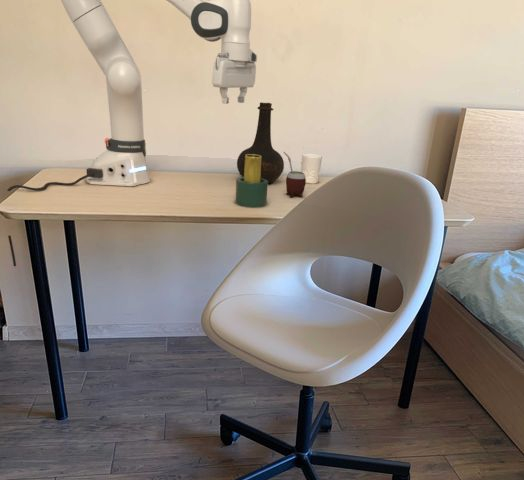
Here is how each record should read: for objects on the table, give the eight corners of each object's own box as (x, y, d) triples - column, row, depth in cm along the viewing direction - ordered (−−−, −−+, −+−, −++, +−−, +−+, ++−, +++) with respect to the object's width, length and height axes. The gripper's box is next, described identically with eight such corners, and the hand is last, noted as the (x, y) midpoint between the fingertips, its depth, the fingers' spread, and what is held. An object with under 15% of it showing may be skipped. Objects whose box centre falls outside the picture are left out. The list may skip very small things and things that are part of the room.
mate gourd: (307, 195, 184) (311, 151, 176) (298, 199, 178) (303, 154, 170) (288, 192, 187) (292, 148, 179) (279, 196, 180) (283, 151, 173)
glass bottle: (227, 179, 199) (229, 99, 185) (261, 175, 210) (266, 99, 195) (257, 189, 188) (262, 105, 174) (291, 184, 198) (299, 105, 184)
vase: (244, 203, 166) (246, 157, 159) (239, 198, 171) (241, 153, 164) (262, 203, 167) (265, 157, 160) (257, 198, 173) (260, 154, 165)
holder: (239, 207, 164) (240, 183, 160) (232, 199, 172) (233, 176, 169) (269, 207, 167) (271, 184, 163) (261, 199, 175) (263, 176, 171)
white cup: (322, 183, 203) (325, 157, 198) (304, 184, 200) (307, 157, 195) (313, 179, 209) (316, 153, 204) (296, 179, 206) (298, 153, 201)
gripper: (225, 53, 150) (223, 105, 157) (260, 56, 166) (257, 103, 172) (207, 51, 152) (206, 102, 159) (243, 54, 168) (241, 101, 175)
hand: (233, 103), depth 166 cm, fingers open, 8 cm apart
